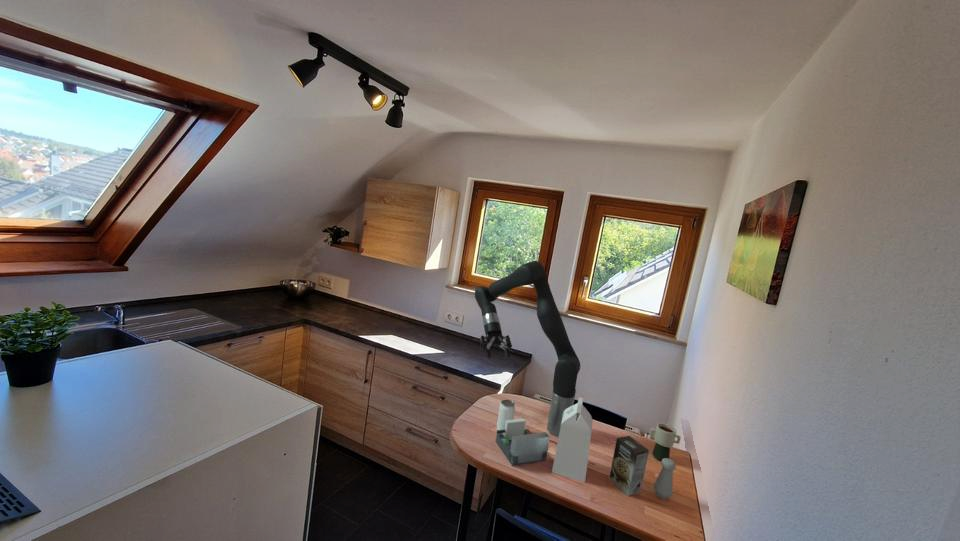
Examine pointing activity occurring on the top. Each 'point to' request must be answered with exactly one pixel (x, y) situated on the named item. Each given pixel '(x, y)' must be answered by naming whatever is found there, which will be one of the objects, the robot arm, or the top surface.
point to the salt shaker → (665, 479)
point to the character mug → (663, 440)
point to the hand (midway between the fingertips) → (498, 358)
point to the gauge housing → (524, 447)
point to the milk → (573, 443)
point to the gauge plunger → (513, 428)
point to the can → (505, 413)
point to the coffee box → (628, 465)
